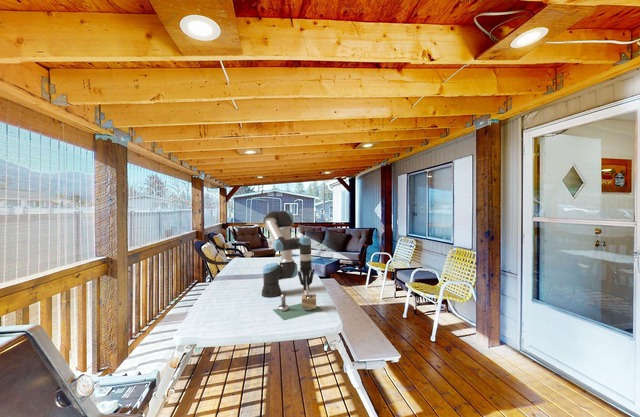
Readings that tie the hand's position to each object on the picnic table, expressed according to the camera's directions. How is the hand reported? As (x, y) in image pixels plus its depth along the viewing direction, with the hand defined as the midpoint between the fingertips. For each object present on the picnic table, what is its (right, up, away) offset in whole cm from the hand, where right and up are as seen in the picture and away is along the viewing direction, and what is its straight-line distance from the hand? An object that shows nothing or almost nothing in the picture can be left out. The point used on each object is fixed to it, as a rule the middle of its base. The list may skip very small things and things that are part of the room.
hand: (306, 294), depth 194 cm
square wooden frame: (+2, -7, -3) cm, 7 cm away
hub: (+2, -9, -3) cm, 9 cm away
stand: (-15, -9, -3) cm, 18 cm away
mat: (-6, -9, -5) cm, 12 cm away
